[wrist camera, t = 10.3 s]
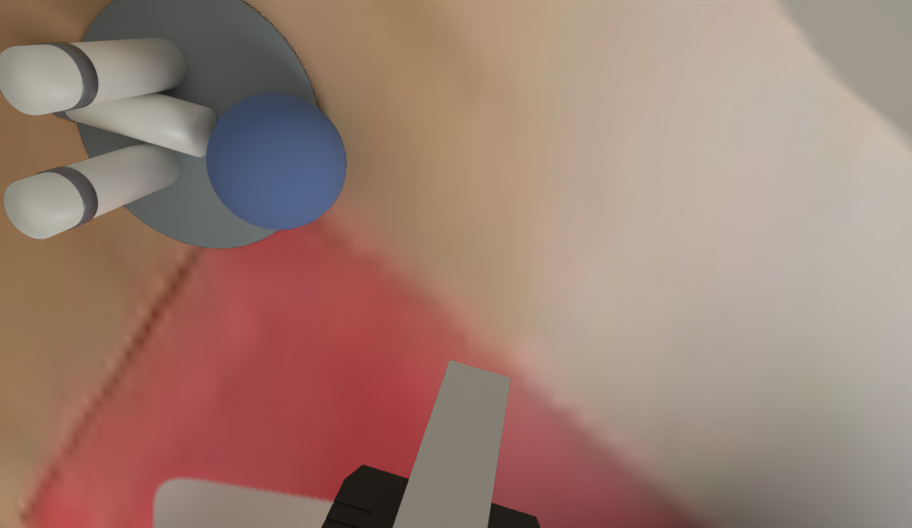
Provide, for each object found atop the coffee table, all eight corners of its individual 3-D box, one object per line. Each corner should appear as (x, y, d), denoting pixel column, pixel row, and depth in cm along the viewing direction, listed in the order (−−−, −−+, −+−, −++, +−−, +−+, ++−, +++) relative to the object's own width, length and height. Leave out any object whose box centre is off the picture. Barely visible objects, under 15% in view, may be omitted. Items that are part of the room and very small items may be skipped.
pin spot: (341, 21, 28) (339, 21, 28) (302, 275, 33) (301, 277, 33) (74, -50, 29) (71, -51, 29) (77, 209, 34) (74, 210, 34)
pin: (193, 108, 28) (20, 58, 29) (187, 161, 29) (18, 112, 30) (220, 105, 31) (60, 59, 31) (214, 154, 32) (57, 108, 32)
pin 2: (184, 145, 32) (60, 188, 24) (182, 191, 33) (61, 247, 25) (138, 132, 32) (0, 171, 24) (137, 179, 33) (4, 230, 25)
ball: (217, 71, 29) (350, 90, 30) (215, 194, 31) (337, 206, 33) (195, 101, 23) (356, 122, 25) (194, 246, 26) (341, 258, 27)
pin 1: (191, 43, 30) (57, 54, 22) (187, 96, 31) (58, 124, 23) (142, 30, 30) (-9, 36, 22) (140, 82, 31) (-4, 106, 23)
